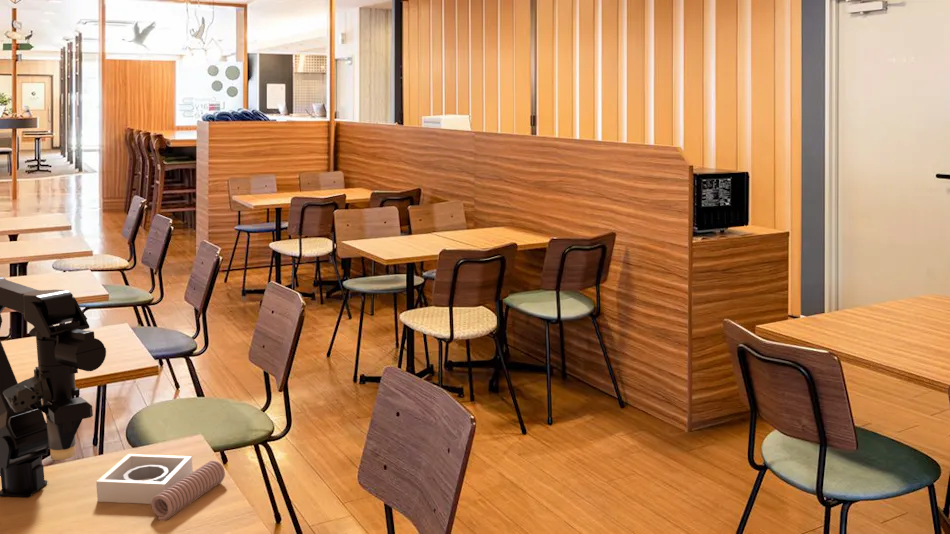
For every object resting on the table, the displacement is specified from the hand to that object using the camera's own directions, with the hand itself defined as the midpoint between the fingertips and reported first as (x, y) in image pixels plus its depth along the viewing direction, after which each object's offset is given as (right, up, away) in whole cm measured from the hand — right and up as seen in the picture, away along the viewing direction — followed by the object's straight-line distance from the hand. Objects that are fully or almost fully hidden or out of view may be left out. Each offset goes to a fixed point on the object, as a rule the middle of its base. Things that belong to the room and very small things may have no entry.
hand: (62, 444), depth 154 cm
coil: (+21, -12, +6) cm, 25 cm away
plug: (0, -2, 0) cm, 2 cm away
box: (+11, -11, +11) cm, 19 cm away
